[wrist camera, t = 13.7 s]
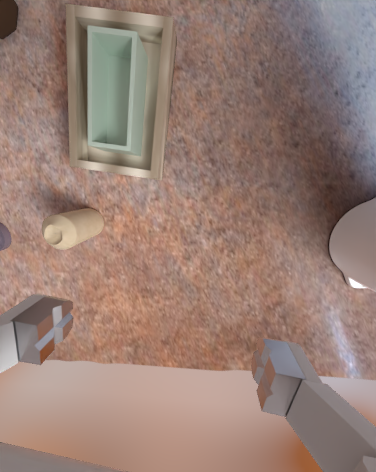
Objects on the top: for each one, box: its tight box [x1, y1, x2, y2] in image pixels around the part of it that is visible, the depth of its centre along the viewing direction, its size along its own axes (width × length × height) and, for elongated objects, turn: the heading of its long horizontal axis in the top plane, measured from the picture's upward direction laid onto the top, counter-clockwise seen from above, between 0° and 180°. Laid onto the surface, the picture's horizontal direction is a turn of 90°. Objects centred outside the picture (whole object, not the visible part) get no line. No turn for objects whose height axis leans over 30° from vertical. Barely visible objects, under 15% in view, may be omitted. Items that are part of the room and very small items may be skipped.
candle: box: [42, 208, 104, 250], centre depth 32 cm, size 6×6×10 cm
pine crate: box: [66, 4, 177, 180], centre depth 29 cm, size 14×20×4 cm
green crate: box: [88, 25, 148, 156], centre depth 28 cm, size 6×14×5 cm, turn 172°
